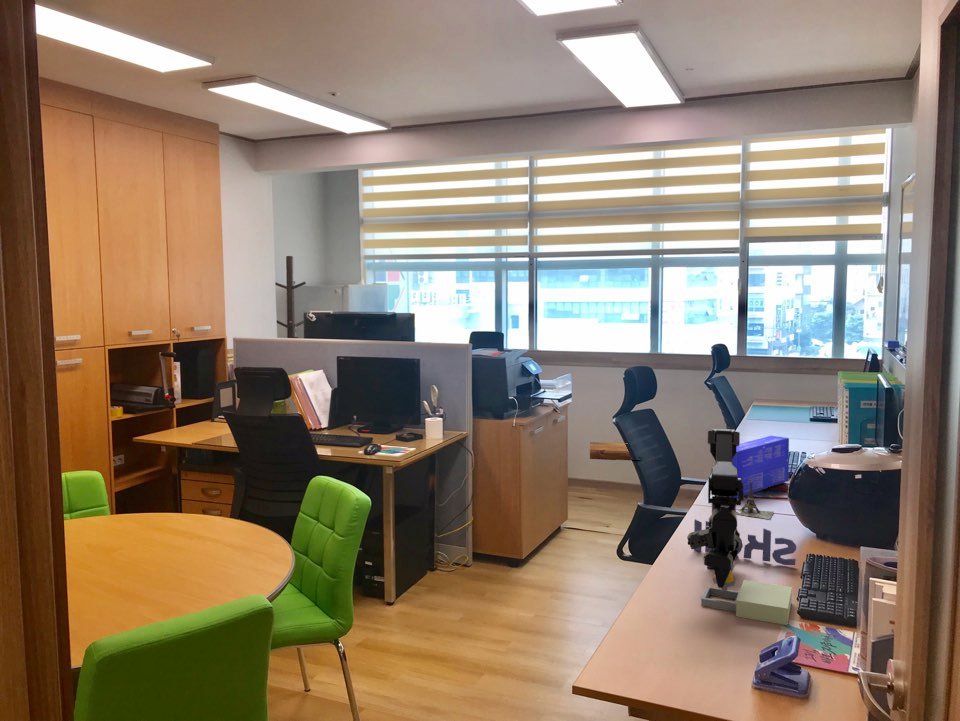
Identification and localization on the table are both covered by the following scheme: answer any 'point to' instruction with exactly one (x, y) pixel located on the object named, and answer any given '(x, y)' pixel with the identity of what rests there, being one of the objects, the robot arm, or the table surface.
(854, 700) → the table surface
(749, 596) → the green box with handle
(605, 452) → the brown wooden slab
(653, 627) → the table surface
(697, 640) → the table surface
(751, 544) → the signage
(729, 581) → the yellow cone shape
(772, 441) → the toner cartridge box
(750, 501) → the eiffel tower figurine
